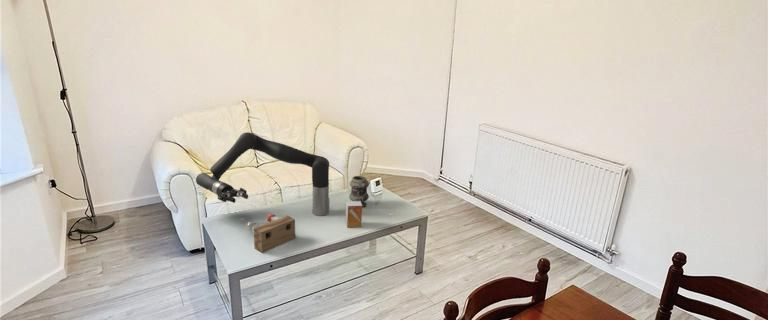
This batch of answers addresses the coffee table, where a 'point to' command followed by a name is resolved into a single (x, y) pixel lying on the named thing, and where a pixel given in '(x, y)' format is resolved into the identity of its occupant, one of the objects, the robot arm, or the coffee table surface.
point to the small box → (353, 214)
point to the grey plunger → (251, 226)
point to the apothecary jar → (359, 189)
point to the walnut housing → (274, 234)
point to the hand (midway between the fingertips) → (241, 198)
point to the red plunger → (272, 218)
